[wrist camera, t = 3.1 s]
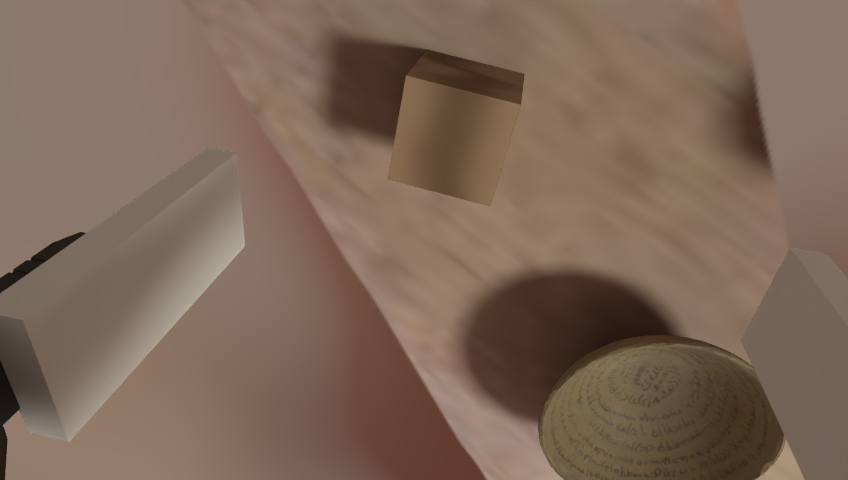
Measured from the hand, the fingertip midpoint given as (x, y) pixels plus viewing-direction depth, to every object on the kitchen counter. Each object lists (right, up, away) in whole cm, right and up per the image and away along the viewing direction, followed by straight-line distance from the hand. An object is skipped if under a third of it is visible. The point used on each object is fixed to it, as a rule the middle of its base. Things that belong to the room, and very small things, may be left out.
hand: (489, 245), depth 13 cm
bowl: (+18, -11, +36) cm, 42 cm away
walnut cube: (+1, +10, +27) cm, 28 cm away
